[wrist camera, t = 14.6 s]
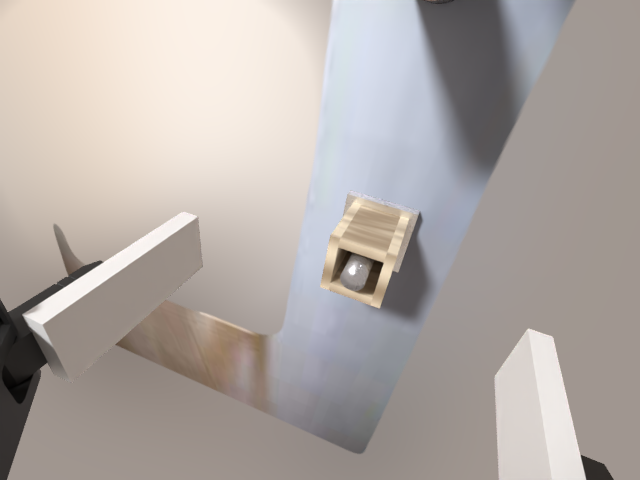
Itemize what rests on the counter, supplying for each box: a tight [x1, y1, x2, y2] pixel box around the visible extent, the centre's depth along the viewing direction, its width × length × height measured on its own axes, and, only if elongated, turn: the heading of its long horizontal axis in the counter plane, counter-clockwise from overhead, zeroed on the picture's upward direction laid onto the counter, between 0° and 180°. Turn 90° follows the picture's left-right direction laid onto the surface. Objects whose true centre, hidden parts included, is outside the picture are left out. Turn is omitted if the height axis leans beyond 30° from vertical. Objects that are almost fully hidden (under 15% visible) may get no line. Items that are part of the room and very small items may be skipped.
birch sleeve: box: [320, 203, 409, 309], centre depth 46 cm, size 8×8×10 cm
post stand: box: [340, 190, 420, 291], centre depth 46 cm, size 10×10×13 cm
